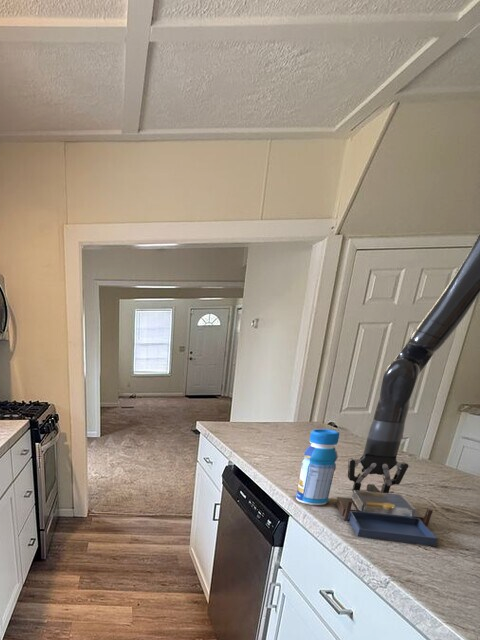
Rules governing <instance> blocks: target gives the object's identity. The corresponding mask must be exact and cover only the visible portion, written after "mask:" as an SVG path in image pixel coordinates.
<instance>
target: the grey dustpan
mask: <svg viewBox="0 0 480 640" xmlns="http://www.w3.org/2000/svg"><path fill="white" fill-rule="evenodd" d="M351 498H352V500H353V501H354V503H355V505H356V506H357V508H358V510H359V511H360V513H367V514H376V515H385V516H394V517H403V518H413V516H414V512H415V509H416V507H415V506H414V505H413V504H412V505H413V506H414V507H415V508H414V507H413V506H412V505H411V502H409V500H408V499H407V498H406V497H405V496H404V495H403V494H402V493H393V492H389V493H382V492H381V490H379V489H378V488H377V486H376V485H375V484H373V483H372V484H371V483H367V484H366V490H361V489H360V490H354V491H352V495H351ZM366 502H371V503H381V504H383V503H390V504H393V505H395V507H394V508H387V507H384V506H376V505H367V504H366Z"/></svg>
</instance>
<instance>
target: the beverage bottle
mask: <svg viewBox="0 0 480 640" xmlns="http://www.w3.org/2000/svg"><path fill="white" fill-rule="evenodd" d="M339 439H340V432H339V431H337V430H334V429H324V428H317V429H312V430H311V432H310V437H309V443H310V445H309V446H308V447H307V448H306V449H305V451H304V453H303V458H304V459H302V462H301V464H300V467H301V468H300V474H299V480H298V484H297V489H296V495H295V499H296V501H297V502H299V503H302V504H305V505H311V506H323V505H326V504H327V503H328V502H329V497H330V492H331V488H332V483H333V479H334V475H335V471H336V468H337V464H336V462H337V460H338V457H339V456H338V452H337V448H336V447H335V446H337V445H338V443H339Z"/></svg>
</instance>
